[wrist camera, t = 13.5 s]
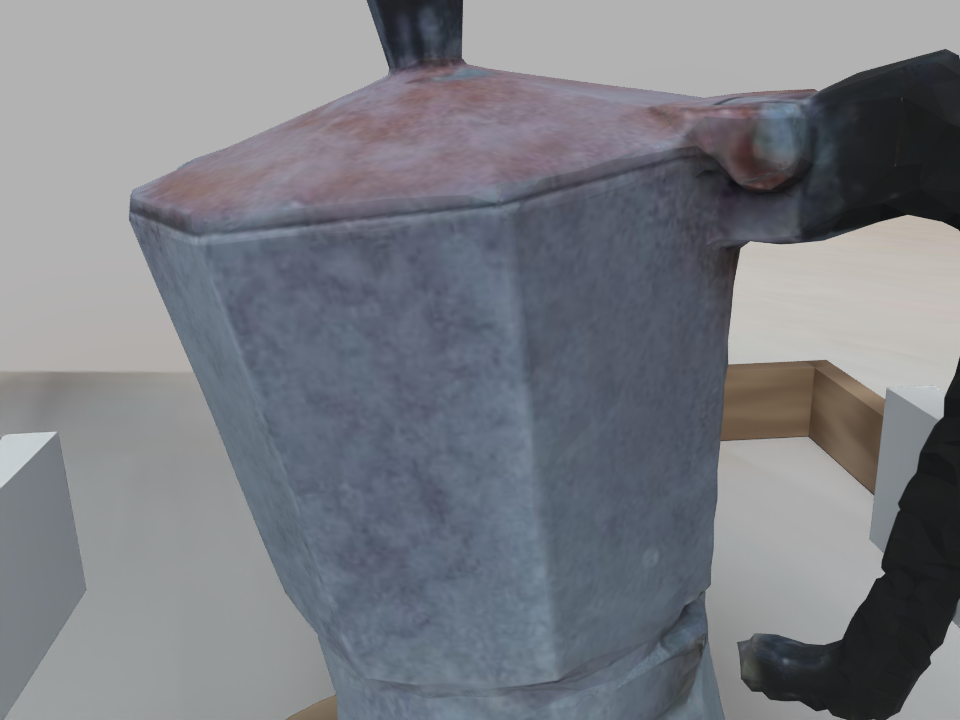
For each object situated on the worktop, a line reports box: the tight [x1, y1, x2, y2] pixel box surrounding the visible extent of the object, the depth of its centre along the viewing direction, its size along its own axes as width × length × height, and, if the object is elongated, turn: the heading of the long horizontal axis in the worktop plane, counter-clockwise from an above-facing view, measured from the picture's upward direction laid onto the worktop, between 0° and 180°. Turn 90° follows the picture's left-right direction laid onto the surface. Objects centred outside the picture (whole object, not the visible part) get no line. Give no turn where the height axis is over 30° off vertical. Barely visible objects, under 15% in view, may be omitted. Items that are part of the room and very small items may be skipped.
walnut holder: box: [720, 360, 885, 495], centre depth 42 cm, size 17×18×4 cm
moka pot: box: [129, 0, 960, 720], centre depth 16 cm, size 10×15×20 cm, turn 60°
